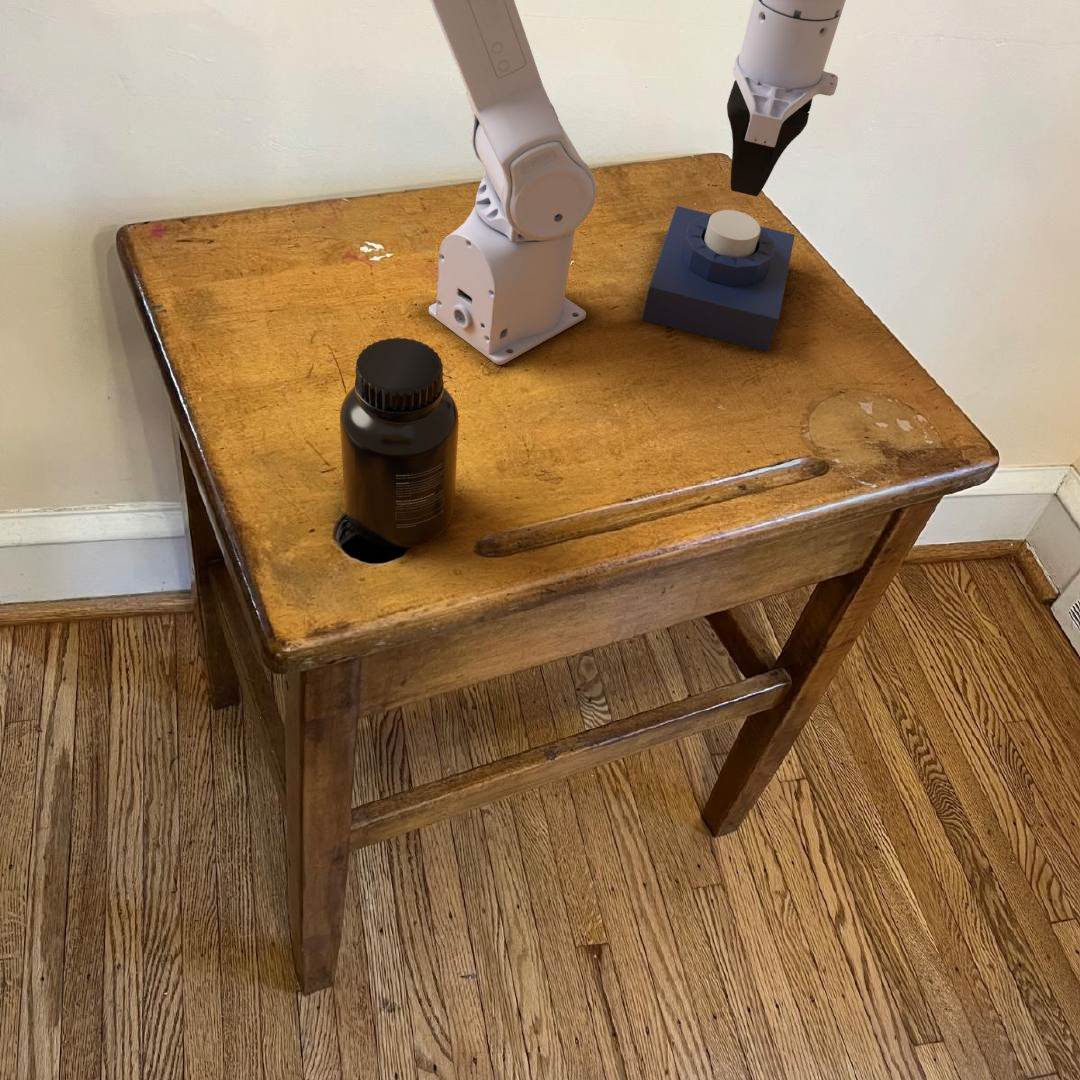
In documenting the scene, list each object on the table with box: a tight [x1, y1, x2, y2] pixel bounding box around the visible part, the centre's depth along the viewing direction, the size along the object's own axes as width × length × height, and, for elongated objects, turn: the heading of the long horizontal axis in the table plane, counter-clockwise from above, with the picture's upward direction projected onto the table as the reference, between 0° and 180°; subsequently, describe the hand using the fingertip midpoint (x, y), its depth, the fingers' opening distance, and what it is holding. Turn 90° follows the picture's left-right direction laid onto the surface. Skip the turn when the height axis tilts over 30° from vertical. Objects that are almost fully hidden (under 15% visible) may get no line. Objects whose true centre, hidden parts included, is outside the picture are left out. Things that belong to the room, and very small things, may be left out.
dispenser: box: [641, 205, 796, 353], centre depth 85 cm, size 12×10×5 cm
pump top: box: [704, 209, 761, 258], centre depth 83 cm, size 4×4×2 cm
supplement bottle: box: [339, 337, 460, 549], centre depth 63 cm, size 7×7×12 cm
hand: (745, 189), depth 80 cm, fingers closed
